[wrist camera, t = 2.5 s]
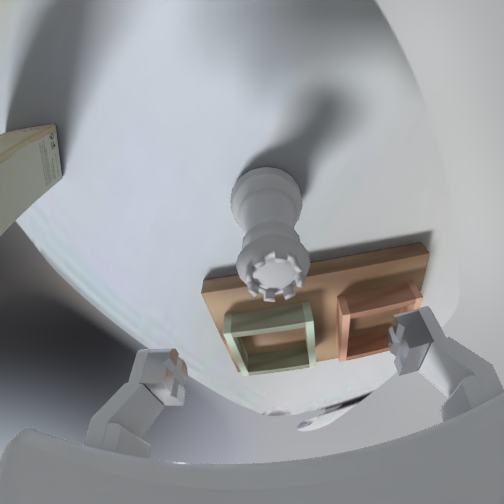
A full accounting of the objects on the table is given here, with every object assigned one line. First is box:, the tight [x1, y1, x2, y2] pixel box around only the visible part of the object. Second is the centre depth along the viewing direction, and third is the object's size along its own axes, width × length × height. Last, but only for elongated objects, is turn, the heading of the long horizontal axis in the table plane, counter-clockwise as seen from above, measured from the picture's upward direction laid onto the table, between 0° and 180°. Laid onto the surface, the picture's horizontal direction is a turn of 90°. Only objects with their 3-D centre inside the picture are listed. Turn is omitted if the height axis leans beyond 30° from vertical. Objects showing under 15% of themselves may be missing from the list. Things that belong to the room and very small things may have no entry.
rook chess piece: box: [231, 167, 310, 302], centre depth 15 cm, size 4×4×8 cm
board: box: [201, 242, 429, 376], centre depth 23 cm, size 12×18×4 cm, turn 101°
